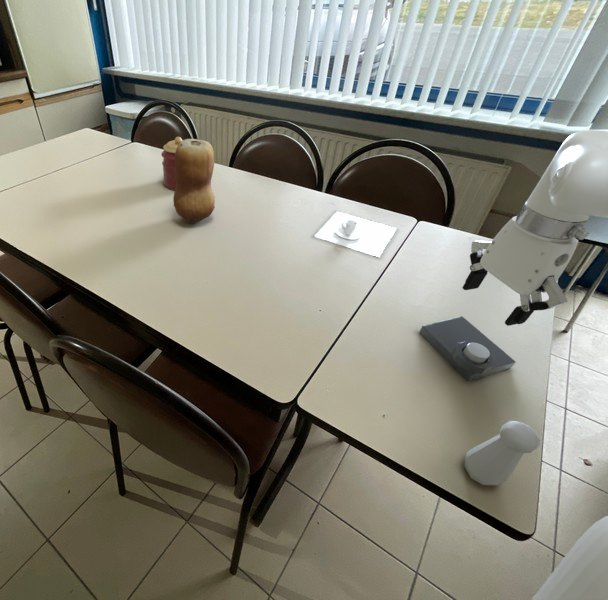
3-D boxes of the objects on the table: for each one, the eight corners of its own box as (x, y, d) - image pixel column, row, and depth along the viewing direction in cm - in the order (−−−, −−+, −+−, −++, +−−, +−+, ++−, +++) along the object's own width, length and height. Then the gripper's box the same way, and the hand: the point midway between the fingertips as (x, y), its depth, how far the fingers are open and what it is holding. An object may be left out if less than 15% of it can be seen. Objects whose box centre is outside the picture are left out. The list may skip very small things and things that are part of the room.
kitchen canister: (186, 174, 149) (185, 129, 138) (203, 186, 141) (203, 138, 129) (158, 181, 144) (153, 135, 132) (173, 194, 136) (170, 145, 124)
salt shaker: (474, 449, 63) (517, 407, 54) (507, 480, 59) (559, 440, 50) (451, 464, 61) (492, 423, 52) (484, 497, 57) (533, 459, 48)
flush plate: (512, 370, 75) (523, 357, 73) (465, 384, 73) (475, 371, 70) (457, 322, 86) (465, 310, 83) (415, 333, 83) (422, 320, 80)
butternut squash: (217, 227, 118) (219, 148, 101) (176, 231, 116) (170, 151, 100) (210, 207, 128) (211, 132, 111) (172, 210, 127) (167, 135, 110)
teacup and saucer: (341, 224, 120) (344, 212, 117) (365, 231, 116) (369, 219, 113) (331, 235, 114) (334, 224, 112) (356, 243, 111) (360, 232, 108)
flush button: (490, 360, 72) (494, 355, 71) (474, 365, 72) (478, 359, 70) (474, 346, 75) (478, 340, 74) (458, 350, 74) (462, 344, 73)
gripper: (629, 248, 49) (550, 335, 61) (519, 193, 62) (471, 273, 73) (585, 256, 48) (513, 343, 59) (482, 198, 61) (439, 279, 72)
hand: (490, 304), depth 66 cm, fingers open, 9 cm apart
